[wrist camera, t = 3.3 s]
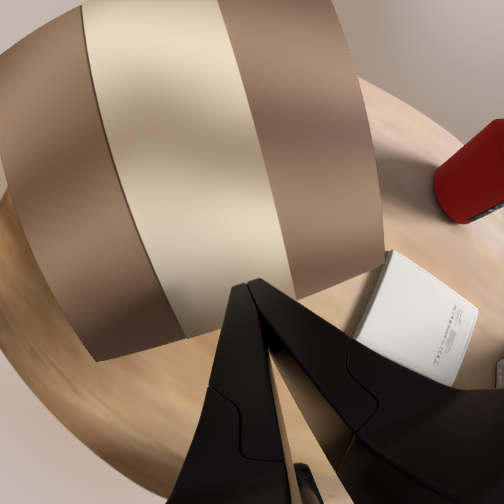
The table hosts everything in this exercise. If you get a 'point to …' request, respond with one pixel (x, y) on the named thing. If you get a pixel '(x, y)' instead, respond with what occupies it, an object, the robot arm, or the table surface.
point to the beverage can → (474, 177)
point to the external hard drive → (417, 320)
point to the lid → (187, 161)
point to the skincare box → (500, 374)
